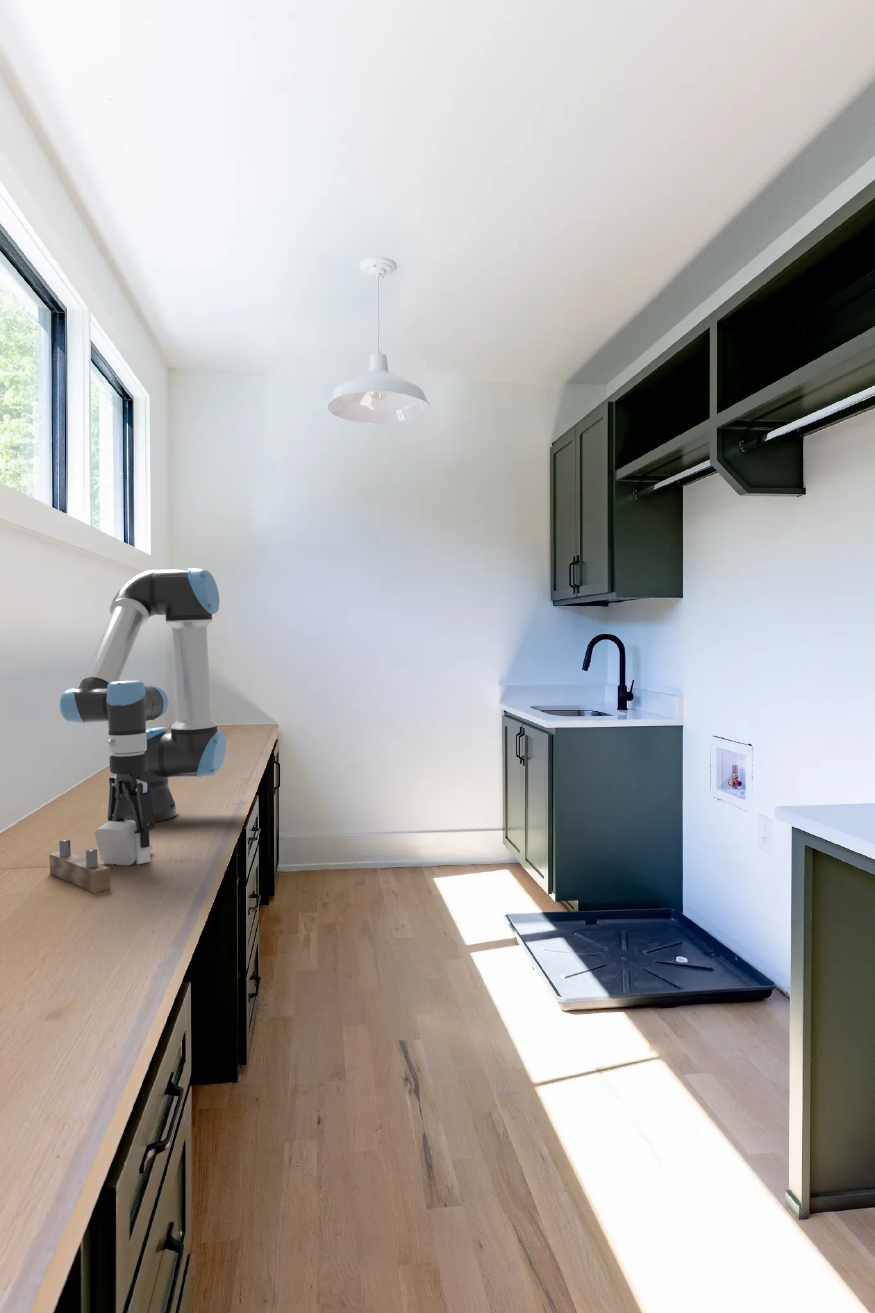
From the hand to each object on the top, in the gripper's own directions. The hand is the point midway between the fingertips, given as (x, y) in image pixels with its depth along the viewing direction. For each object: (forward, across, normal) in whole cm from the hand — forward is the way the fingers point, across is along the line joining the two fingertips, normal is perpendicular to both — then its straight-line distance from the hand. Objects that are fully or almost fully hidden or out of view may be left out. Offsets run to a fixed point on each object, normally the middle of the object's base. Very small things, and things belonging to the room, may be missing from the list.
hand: (132, 858), depth 173 cm
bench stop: (0, +6, -14) cm, 15 cm away
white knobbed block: (0, -1, 0) cm, 1 cm away
